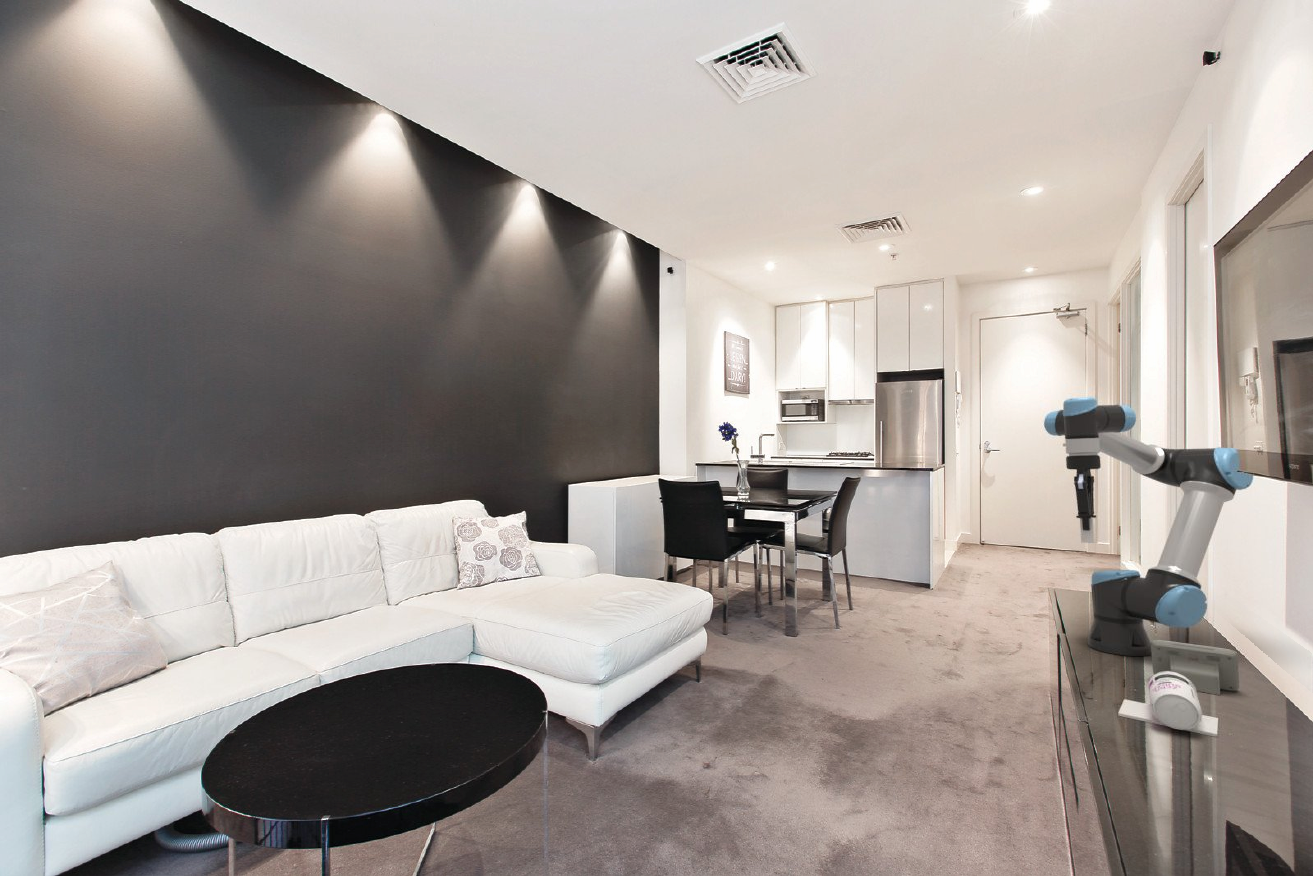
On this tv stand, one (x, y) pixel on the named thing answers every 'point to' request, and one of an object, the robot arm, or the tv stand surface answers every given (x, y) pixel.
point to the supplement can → (1174, 700)
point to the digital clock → (1198, 664)
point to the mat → (1145, 714)
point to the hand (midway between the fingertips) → (1087, 542)
